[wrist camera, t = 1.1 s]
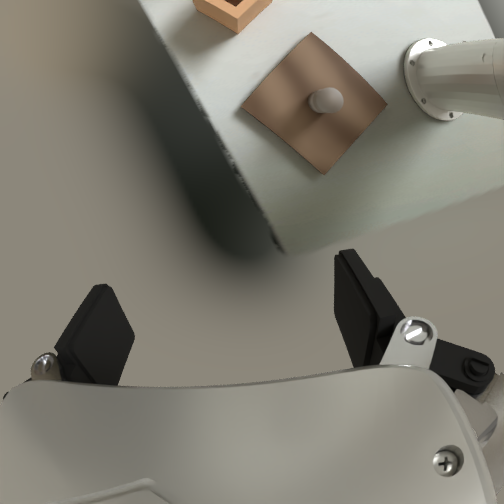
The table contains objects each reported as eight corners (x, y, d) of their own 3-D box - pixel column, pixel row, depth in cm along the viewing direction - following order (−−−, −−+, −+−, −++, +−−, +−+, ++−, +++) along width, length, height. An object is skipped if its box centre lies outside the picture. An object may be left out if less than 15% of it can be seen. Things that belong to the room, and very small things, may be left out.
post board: (308, 34, 26) (320, 21, 21) (383, 104, 30) (405, 104, 25) (240, 106, 30) (240, 105, 25) (321, 173, 34) (335, 184, 29)
